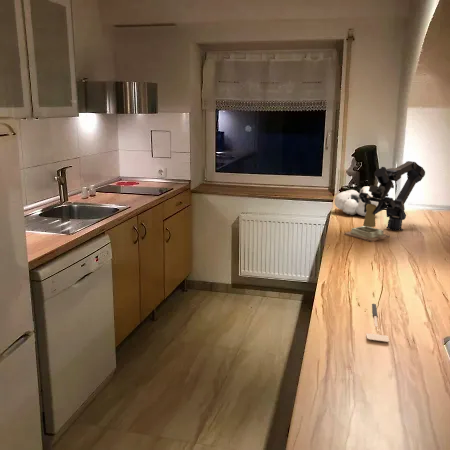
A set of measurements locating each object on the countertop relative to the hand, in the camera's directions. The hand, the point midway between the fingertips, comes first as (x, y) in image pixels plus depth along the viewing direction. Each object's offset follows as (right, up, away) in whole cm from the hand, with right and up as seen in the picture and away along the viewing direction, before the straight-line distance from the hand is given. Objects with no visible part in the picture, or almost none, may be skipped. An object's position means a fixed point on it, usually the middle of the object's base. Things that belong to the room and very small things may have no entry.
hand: (369, 213), depth 253 cm
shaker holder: (0, -11, +5) cm, 12 cm away
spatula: (-25, -37, -96) cm, 106 cm away
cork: (+1, -6, +3) cm, 7 cm away
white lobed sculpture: (+7, 0, +52) cm, 52 cm away
